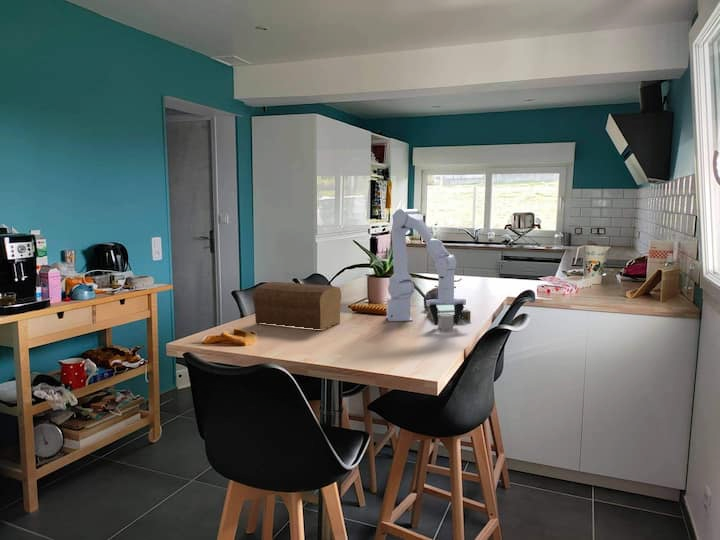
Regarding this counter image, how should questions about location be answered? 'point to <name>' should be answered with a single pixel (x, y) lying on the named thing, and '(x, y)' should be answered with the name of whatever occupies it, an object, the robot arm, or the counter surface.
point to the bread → (297, 304)
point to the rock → (431, 296)
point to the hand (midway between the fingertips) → (445, 324)
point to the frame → (463, 314)
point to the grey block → (445, 321)
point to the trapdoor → (447, 308)
